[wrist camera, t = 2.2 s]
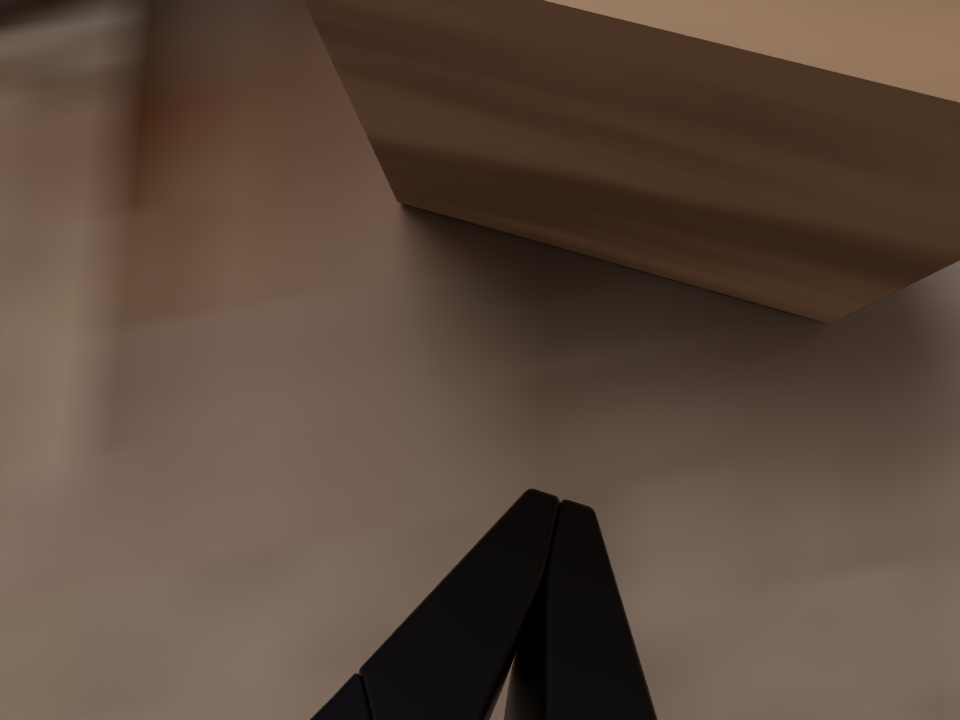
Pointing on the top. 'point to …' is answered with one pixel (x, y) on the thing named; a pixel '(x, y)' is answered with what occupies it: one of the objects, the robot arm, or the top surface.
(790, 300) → the walnut t block
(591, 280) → the top surface
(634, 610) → the top surface
